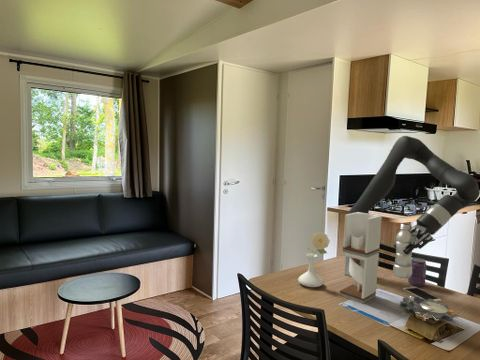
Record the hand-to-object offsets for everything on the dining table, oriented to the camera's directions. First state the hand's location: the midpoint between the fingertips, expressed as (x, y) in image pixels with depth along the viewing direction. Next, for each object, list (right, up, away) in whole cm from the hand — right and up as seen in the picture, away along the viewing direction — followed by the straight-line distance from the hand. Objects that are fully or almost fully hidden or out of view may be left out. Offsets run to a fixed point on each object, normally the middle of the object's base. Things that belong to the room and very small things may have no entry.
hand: (399, 250), depth 129 cm
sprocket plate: (+15, -26, +10) cm, 32 cm away
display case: (-8, -24, +22) cm, 33 cm away
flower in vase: (-26, -23, +32) cm, 47 cm away
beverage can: (+25, -24, +37) cm, 51 cm away
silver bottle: (+1, -11, +1) cm, 11 cm away
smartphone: (+21, -25, +26) cm, 42 cm away
